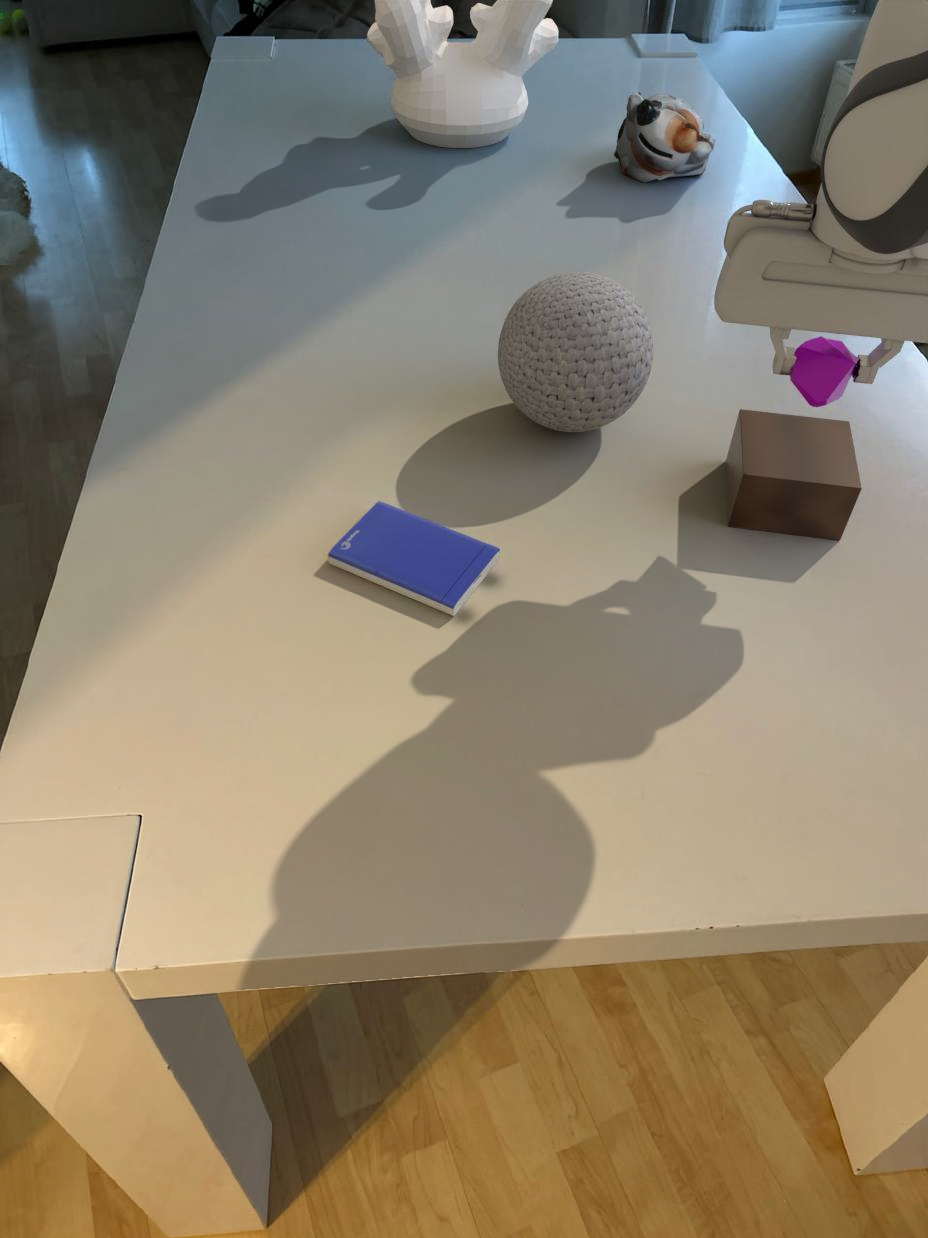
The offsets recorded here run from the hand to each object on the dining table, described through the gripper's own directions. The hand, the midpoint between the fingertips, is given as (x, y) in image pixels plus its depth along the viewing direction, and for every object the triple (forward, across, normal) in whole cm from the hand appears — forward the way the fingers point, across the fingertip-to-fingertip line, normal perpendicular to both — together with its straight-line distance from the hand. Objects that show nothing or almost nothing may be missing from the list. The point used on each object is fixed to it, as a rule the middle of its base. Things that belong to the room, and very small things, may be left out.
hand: (821, 375), depth 79 cm
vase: (+14, -45, +84) cm, 96 cm away
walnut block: (+13, 0, 0) cm, 13 cm away
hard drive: (+14, -32, -15) cm, 38 cm away
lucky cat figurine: (+14, -13, +74) cm, 76 cm away
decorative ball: (+14, -21, +9) cm, 27 cm away
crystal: (+2, 0, 0) cm, 2 cm away
